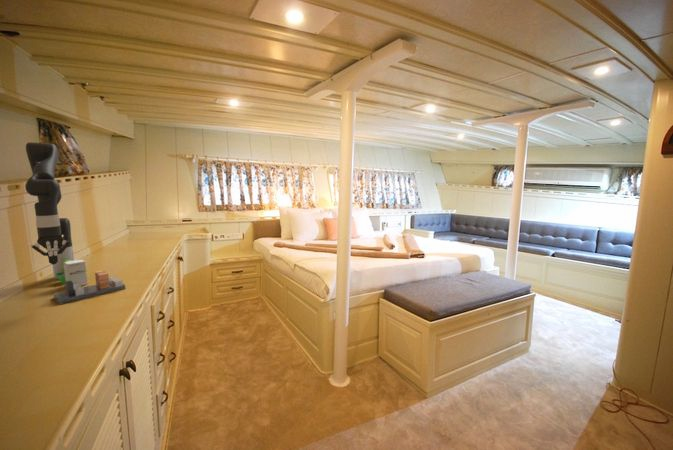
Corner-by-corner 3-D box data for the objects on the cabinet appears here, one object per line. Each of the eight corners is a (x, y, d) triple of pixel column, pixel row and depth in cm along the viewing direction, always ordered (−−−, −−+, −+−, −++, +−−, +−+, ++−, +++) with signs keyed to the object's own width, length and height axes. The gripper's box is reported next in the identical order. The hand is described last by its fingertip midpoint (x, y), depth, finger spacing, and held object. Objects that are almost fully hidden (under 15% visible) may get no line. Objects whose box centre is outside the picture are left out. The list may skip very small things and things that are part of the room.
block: (109, 286, 149) (108, 273, 148) (100, 288, 146) (99, 275, 145) (104, 283, 154) (103, 270, 153) (96, 285, 151) (94, 271, 150)
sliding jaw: (64, 290, 143) (63, 280, 142) (78, 288, 147) (76, 277, 146) (70, 297, 136) (68, 285, 135) (84, 293, 139) (83, 282, 139)
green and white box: (61, 285, 157) (58, 264, 156) (55, 282, 162) (52, 261, 160) (88, 279, 167) (86, 259, 165) (81, 276, 171) (79, 257, 170)
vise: (53, 297, 140) (52, 288, 140) (117, 283, 159) (116, 275, 159) (59, 304, 133) (57, 294, 132) (125, 288, 152) (124, 280, 151)
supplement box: (69, 288, 152) (66, 264, 150) (66, 285, 157) (62, 261, 155) (88, 284, 158) (85, 261, 156) (84, 281, 163) (81, 258, 161)
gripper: (28, 228, 124) (34, 268, 127) (70, 224, 135) (75, 262, 137) (25, 226, 129) (31, 265, 131) (66, 223, 139) (70, 259, 142)
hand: (53, 263), depth 134 cm, fingers closed
